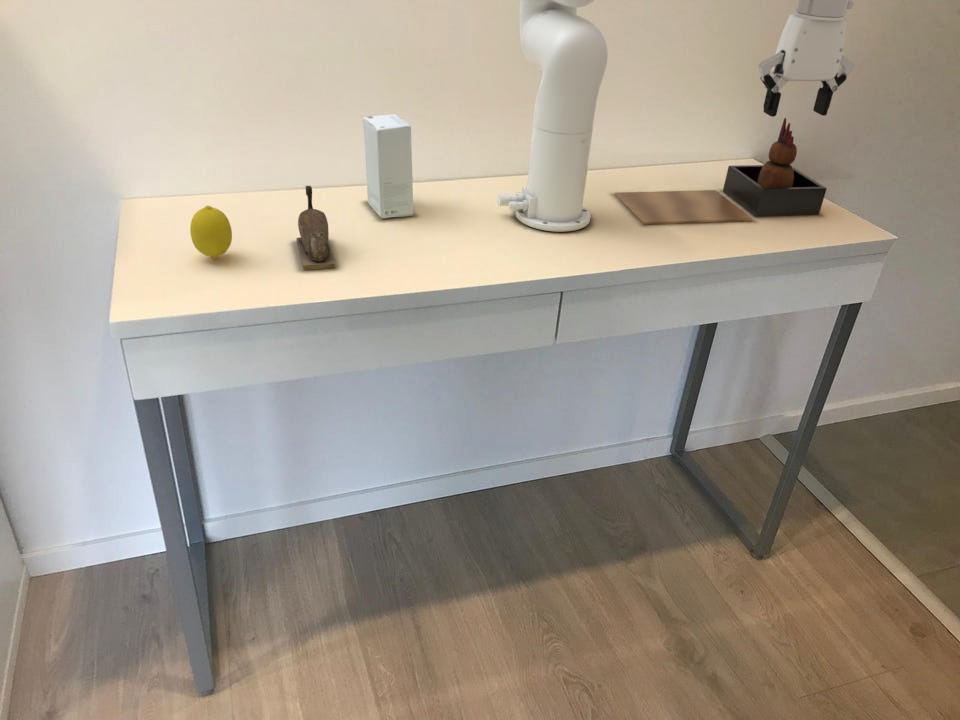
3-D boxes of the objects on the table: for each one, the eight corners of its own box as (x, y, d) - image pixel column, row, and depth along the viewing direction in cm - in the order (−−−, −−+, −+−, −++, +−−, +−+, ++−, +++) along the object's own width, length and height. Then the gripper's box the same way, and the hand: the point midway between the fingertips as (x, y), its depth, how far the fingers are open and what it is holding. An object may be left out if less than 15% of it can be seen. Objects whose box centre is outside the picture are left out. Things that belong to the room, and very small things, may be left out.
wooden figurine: (750, 194, 150) (770, 114, 142) (782, 197, 149) (804, 117, 141) (756, 207, 144) (777, 124, 136) (789, 211, 143) (812, 128, 135)
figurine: (293, 231, 124) (289, 177, 119) (323, 229, 125) (320, 176, 120) (303, 270, 113) (299, 212, 108) (335, 268, 114) (332, 211, 109)
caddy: (755, 216, 140) (762, 189, 137) (722, 191, 150) (728, 165, 148) (818, 214, 143) (827, 188, 140) (782, 189, 153) (789, 164, 150)
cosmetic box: (414, 216, 132) (414, 126, 124) (378, 220, 129) (377, 129, 122) (398, 198, 138) (398, 112, 130) (364, 201, 136) (362, 114, 128)
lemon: (197, 269, 111) (189, 215, 107) (192, 253, 115) (184, 200, 111) (237, 264, 113) (231, 211, 109) (231, 248, 117) (225, 197, 113)
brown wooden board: (644, 224, 134) (644, 222, 134) (615, 194, 146) (615, 192, 145) (751, 221, 138) (752, 218, 138) (715, 192, 150) (715, 190, 150)
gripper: (854, 4, 134) (826, 107, 143) (761, 3, 130) (738, 108, 139) (882, 11, 127) (851, 119, 137) (785, 11, 124) (760, 121, 133)
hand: (794, 113), depth 138 cm, fingers open, 9 cm apart
